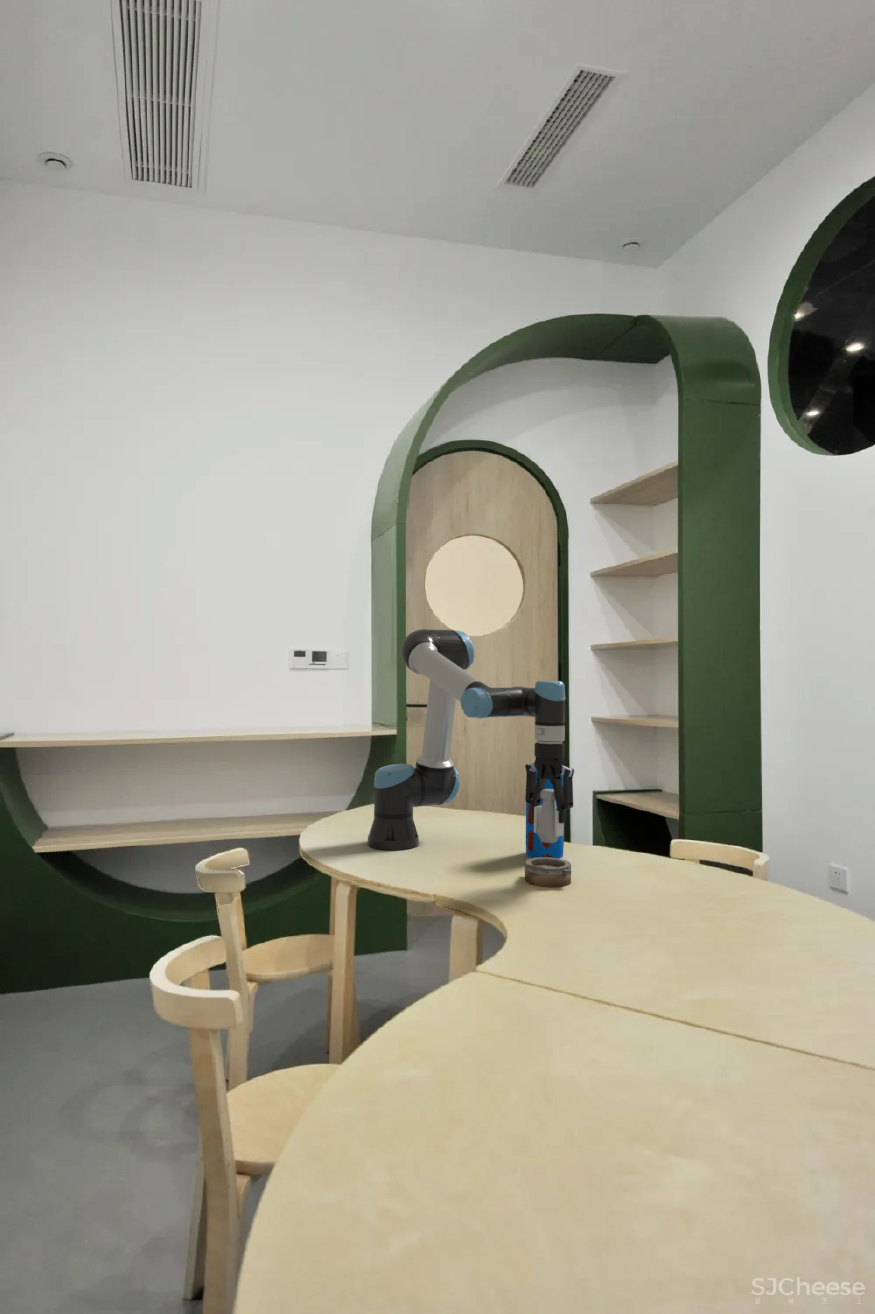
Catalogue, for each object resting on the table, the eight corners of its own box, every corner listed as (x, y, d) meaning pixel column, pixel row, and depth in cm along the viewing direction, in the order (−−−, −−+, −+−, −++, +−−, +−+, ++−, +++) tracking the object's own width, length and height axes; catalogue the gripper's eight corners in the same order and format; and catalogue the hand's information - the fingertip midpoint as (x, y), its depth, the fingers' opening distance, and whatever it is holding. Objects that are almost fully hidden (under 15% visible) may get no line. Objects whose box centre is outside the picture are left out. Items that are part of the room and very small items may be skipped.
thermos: (565, 860, 229) (567, 770, 229) (527, 859, 229) (528, 769, 229) (560, 850, 240) (561, 765, 240) (524, 850, 240) (525, 764, 240)
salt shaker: (537, 843, 205) (537, 791, 205) (536, 838, 211) (536, 787, 210) (560, 843, 204) (561, 791, 204) (559, 838, 210) (559, 787, 210)
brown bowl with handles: (511, 878, 209) (511, 860, 209) (543, 871, 217) (543, 854, 217) (552, 891, 198) (553, 872, 198) (584, 883, 206) (584, 865, 206)
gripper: (511, 740, 211) (510, 830, 211) (572, 746, 198) (571, 842, 198) (528, 738, 217) (527, 826, 217) (589, 743, 204) (588, 837, 204)
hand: (548, 833), depth 207 cm, fingers closed on salt shaker, 6 cm apart
